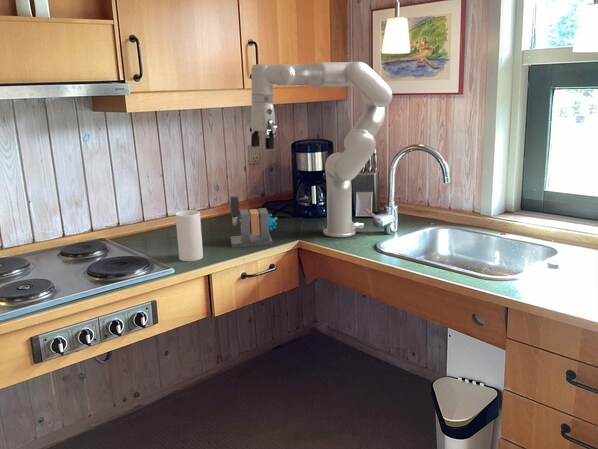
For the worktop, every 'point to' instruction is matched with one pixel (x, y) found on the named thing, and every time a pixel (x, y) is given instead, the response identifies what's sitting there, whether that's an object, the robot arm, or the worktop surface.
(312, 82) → the robot arm
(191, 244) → the cup
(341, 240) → the worktop surface
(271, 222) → the blue spiky toy
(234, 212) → the shaft
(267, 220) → the bracket
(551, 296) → the worktop surface
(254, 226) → the orange square block
